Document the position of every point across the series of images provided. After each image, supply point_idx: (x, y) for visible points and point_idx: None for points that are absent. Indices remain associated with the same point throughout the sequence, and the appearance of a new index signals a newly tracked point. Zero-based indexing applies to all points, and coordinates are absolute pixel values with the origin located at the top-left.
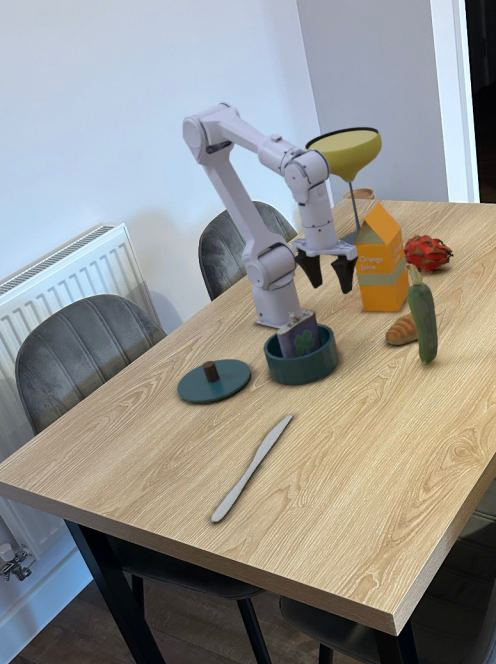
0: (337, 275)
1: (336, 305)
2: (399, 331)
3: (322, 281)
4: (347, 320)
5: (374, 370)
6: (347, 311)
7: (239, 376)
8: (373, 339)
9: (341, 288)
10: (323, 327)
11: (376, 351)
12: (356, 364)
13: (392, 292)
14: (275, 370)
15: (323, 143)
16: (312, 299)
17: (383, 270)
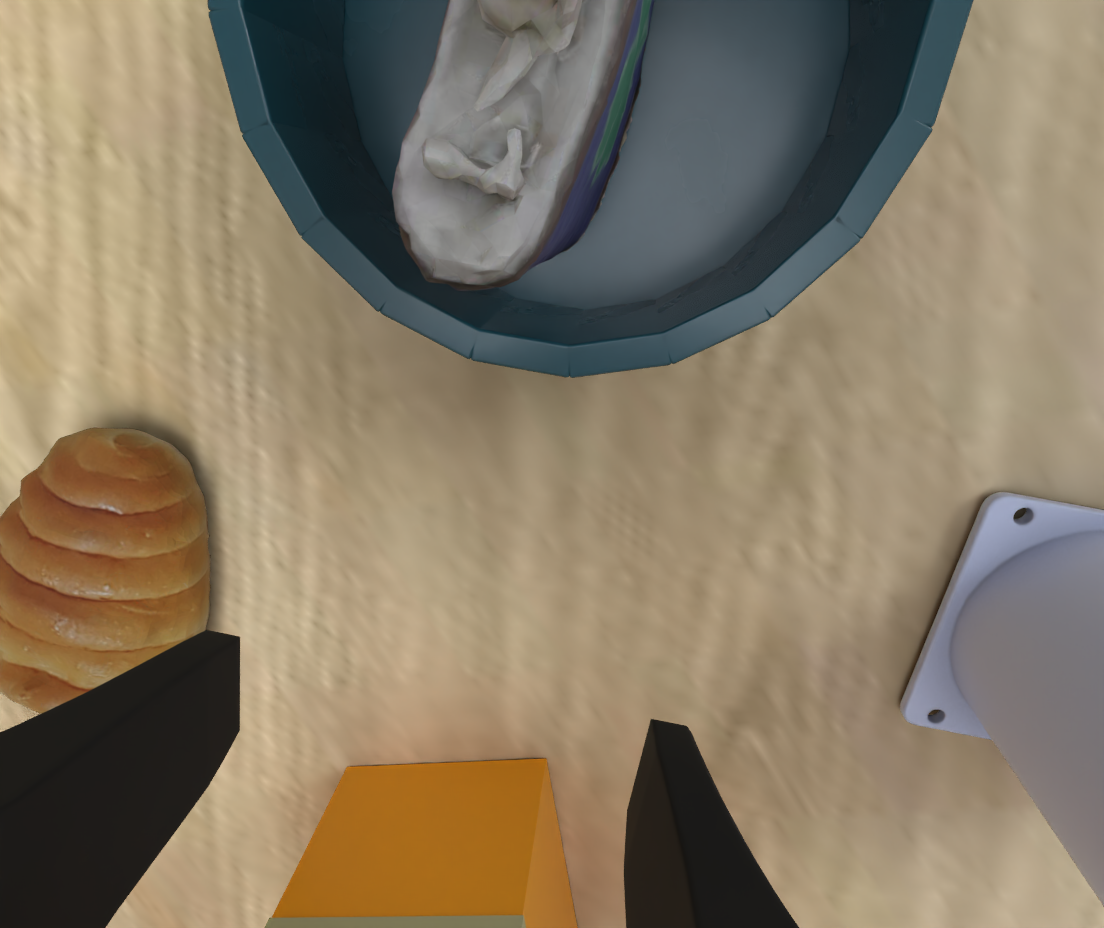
0: (16, 789)
1: (766, 804)
2: (51, 500)
3: (625, 840)
4: (597, 660)
5: (58, 132)
6: None
7: None
8: (302, 483)
9: (189, 667)
10: (466, 320)
11: (196, 356)
12: (220, 175)
13: (308, 869)
14: None
15: None
16: (975, 857)
17: None
